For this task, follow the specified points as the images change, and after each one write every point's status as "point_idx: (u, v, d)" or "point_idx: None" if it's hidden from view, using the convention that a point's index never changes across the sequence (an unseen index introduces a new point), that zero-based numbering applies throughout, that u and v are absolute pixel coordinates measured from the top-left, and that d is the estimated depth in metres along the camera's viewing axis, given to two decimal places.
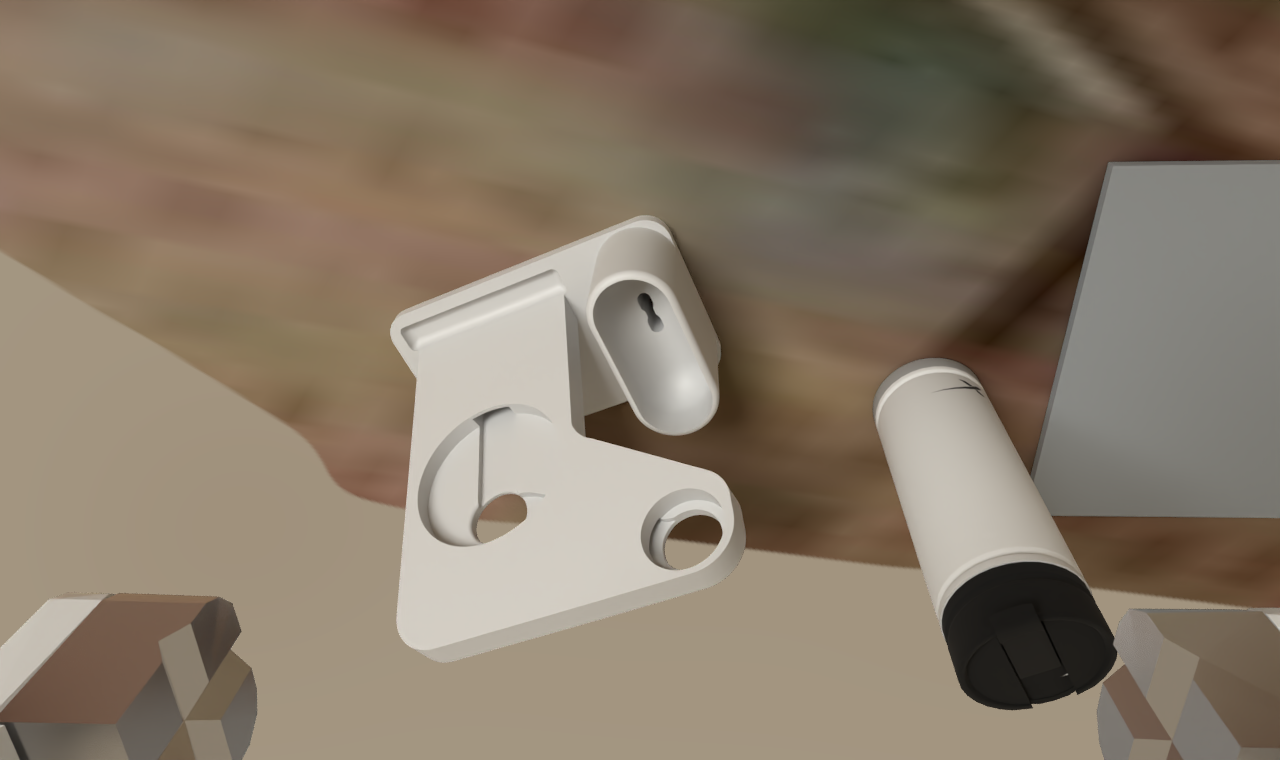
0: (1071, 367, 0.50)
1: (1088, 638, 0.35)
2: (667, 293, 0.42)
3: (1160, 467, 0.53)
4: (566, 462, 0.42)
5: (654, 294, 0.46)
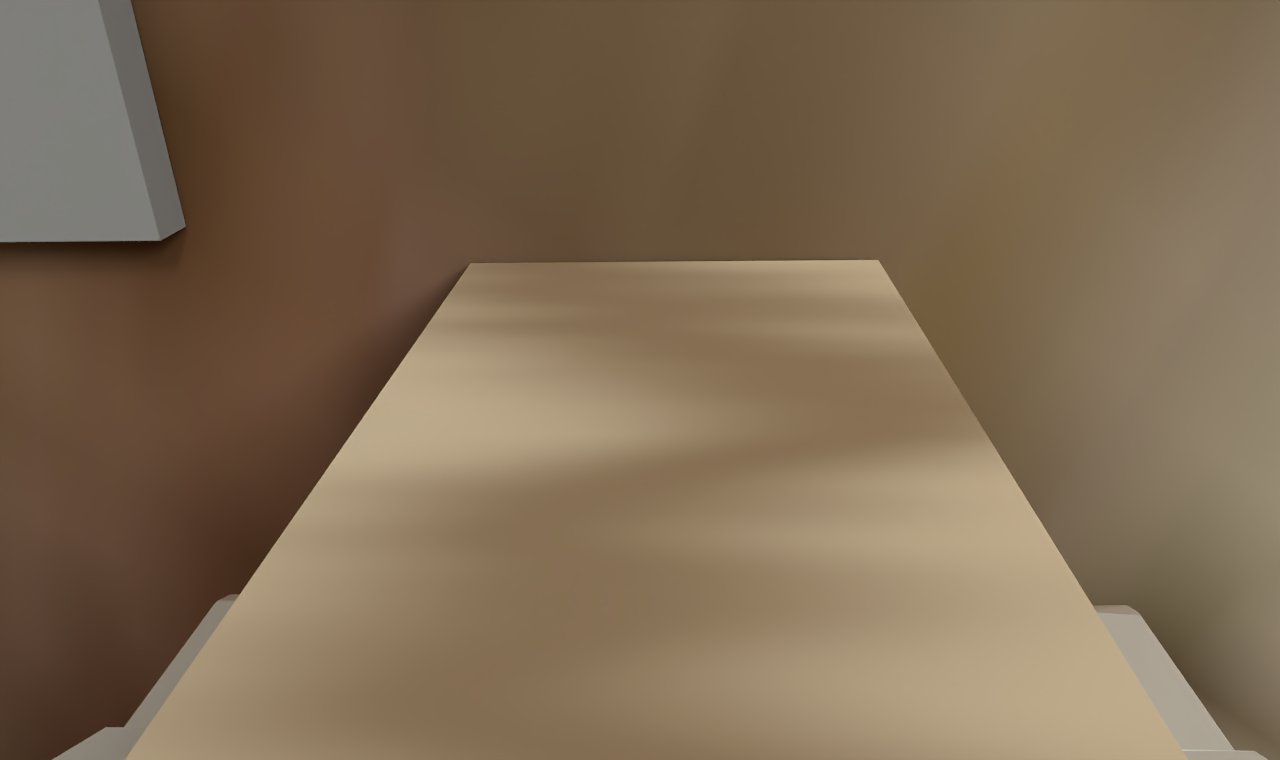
0: None
1: None
2: None
3: None
4: None
5: None
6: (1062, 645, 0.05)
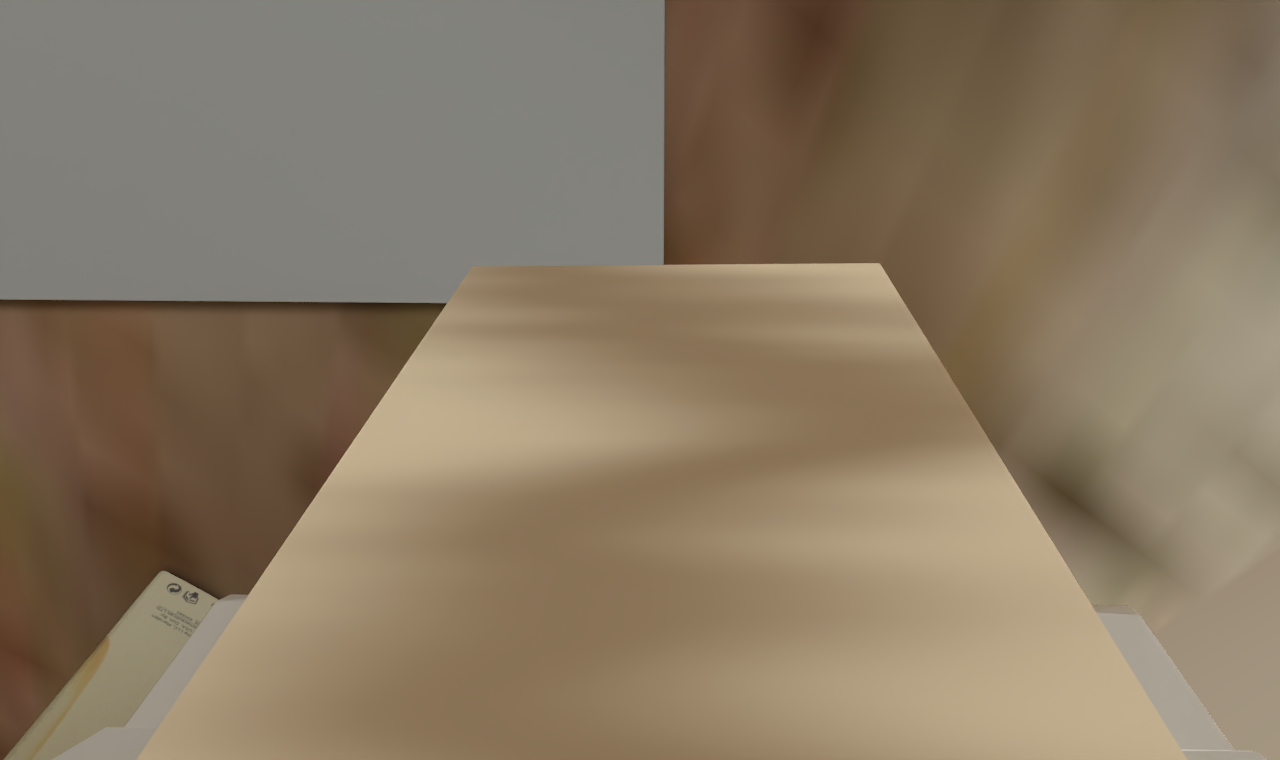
0: None
1: None
2: None
3: None
4: None
5: None
6: (1066, 651, 0.05)
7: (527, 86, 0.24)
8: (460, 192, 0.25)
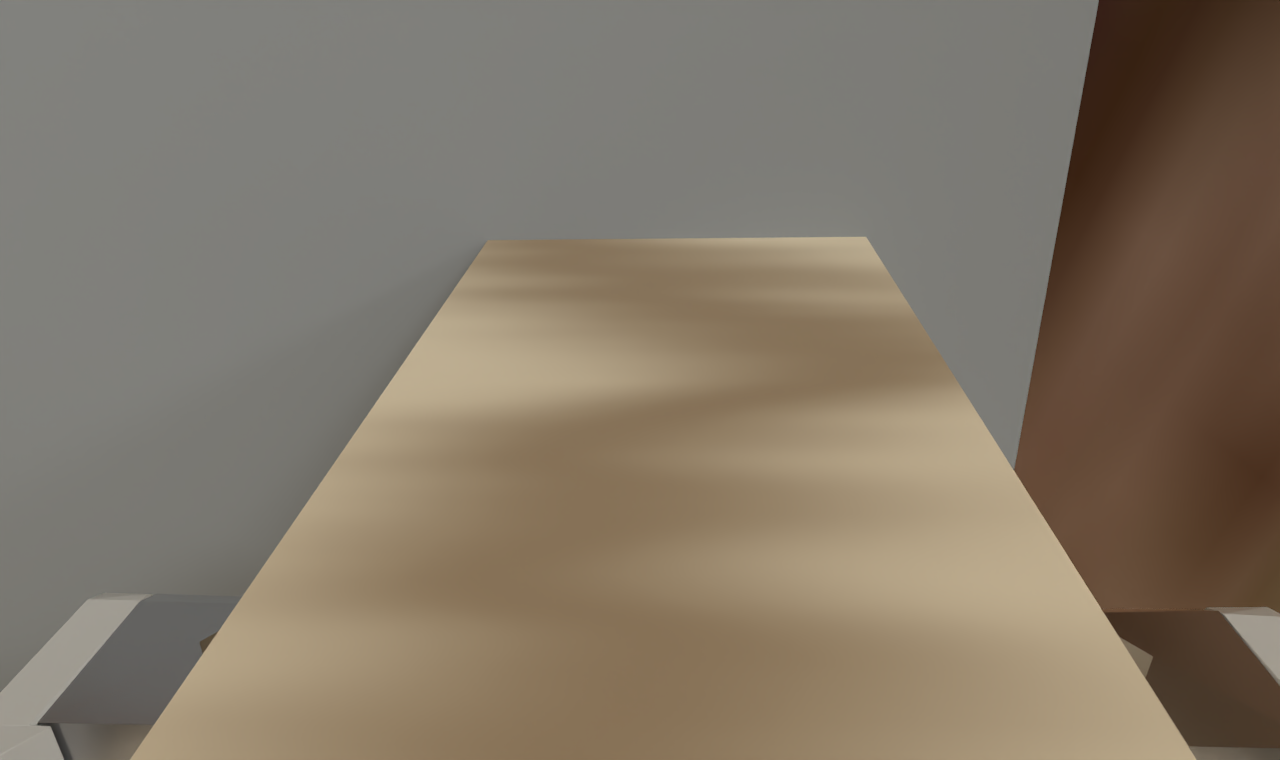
0: None
1: None
2: None
3: None
4: None
5: None
6: (1010, 538, 0.06)
7: None
8: None
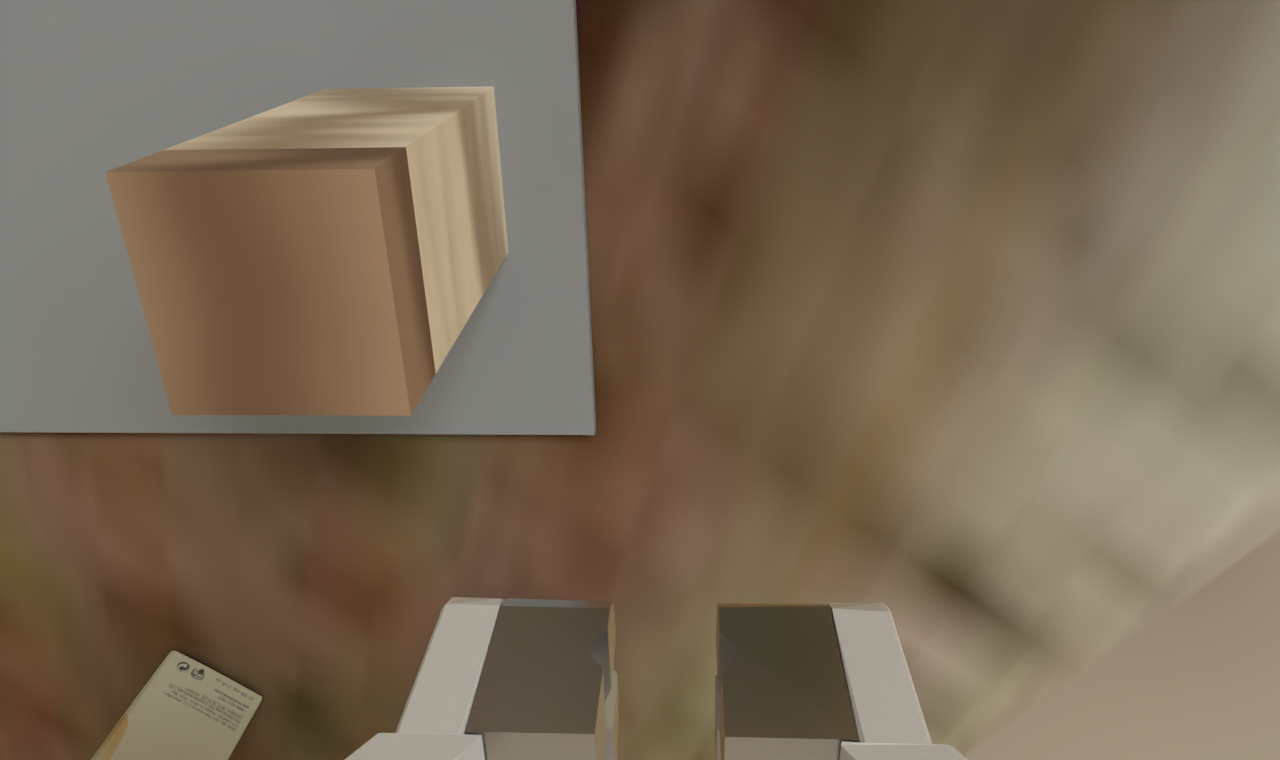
0: None
1: None
2: None
3: None
4: None
5: None
6: (422, 127, 0.20)
7: None
8: None
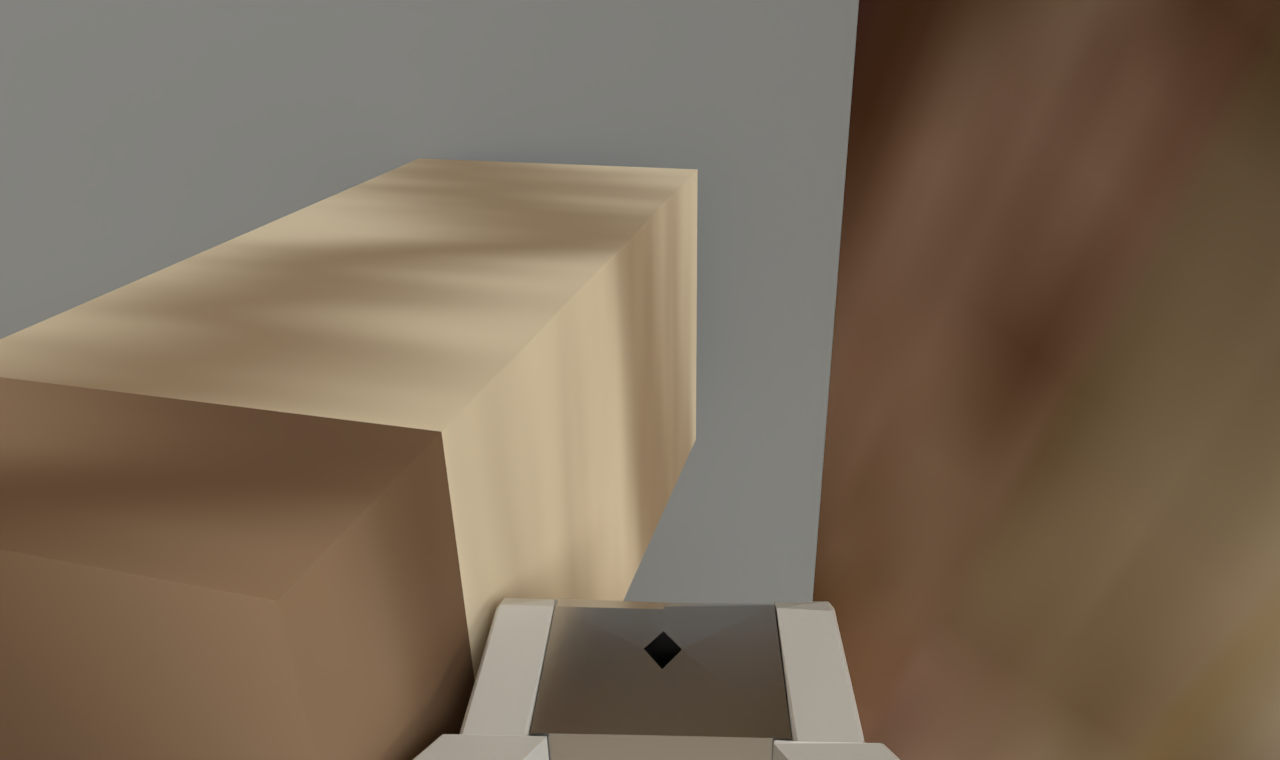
0: None
1: None
2: None
3: None
4: None
5: None
6: (521, 318, 0.09)
7: None
8: None
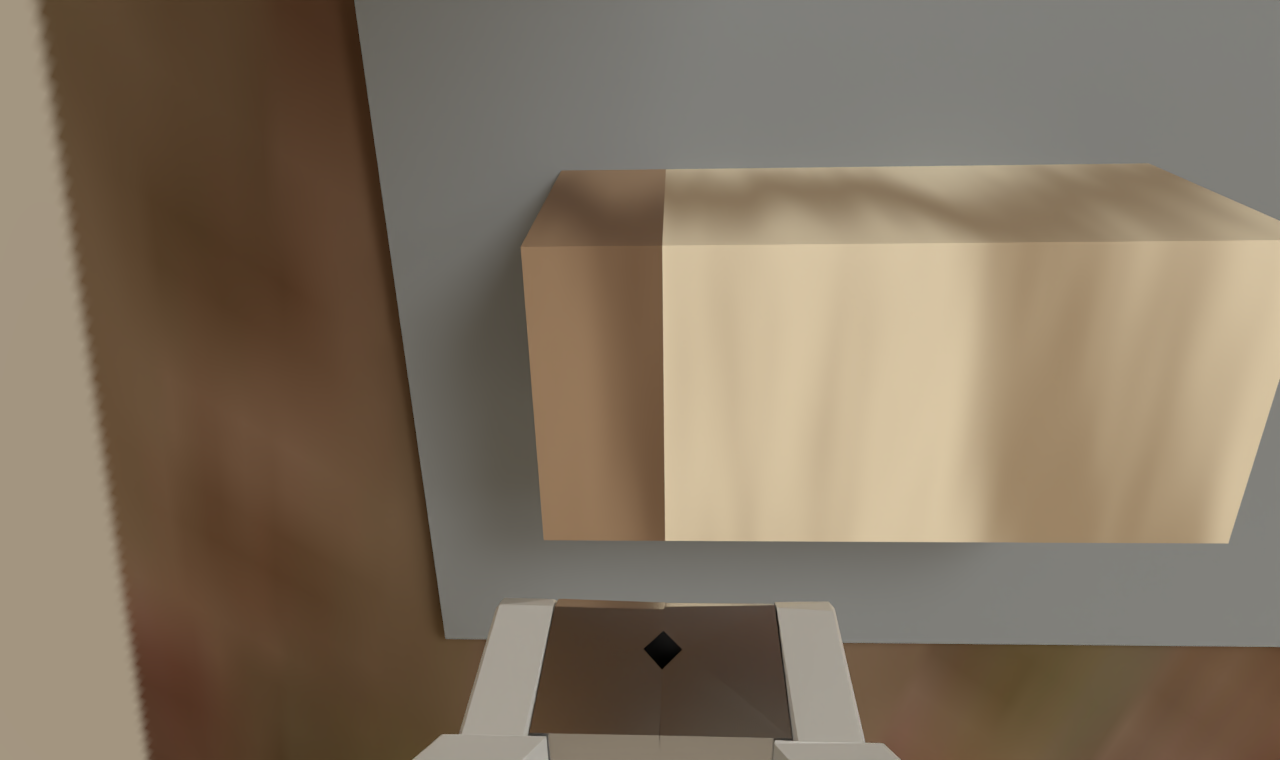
0: None
1: None
2: None
3: None
4: None
5: None
6: (822, 238, 0.13)
7: (1278, 418, 0.19)
8: None
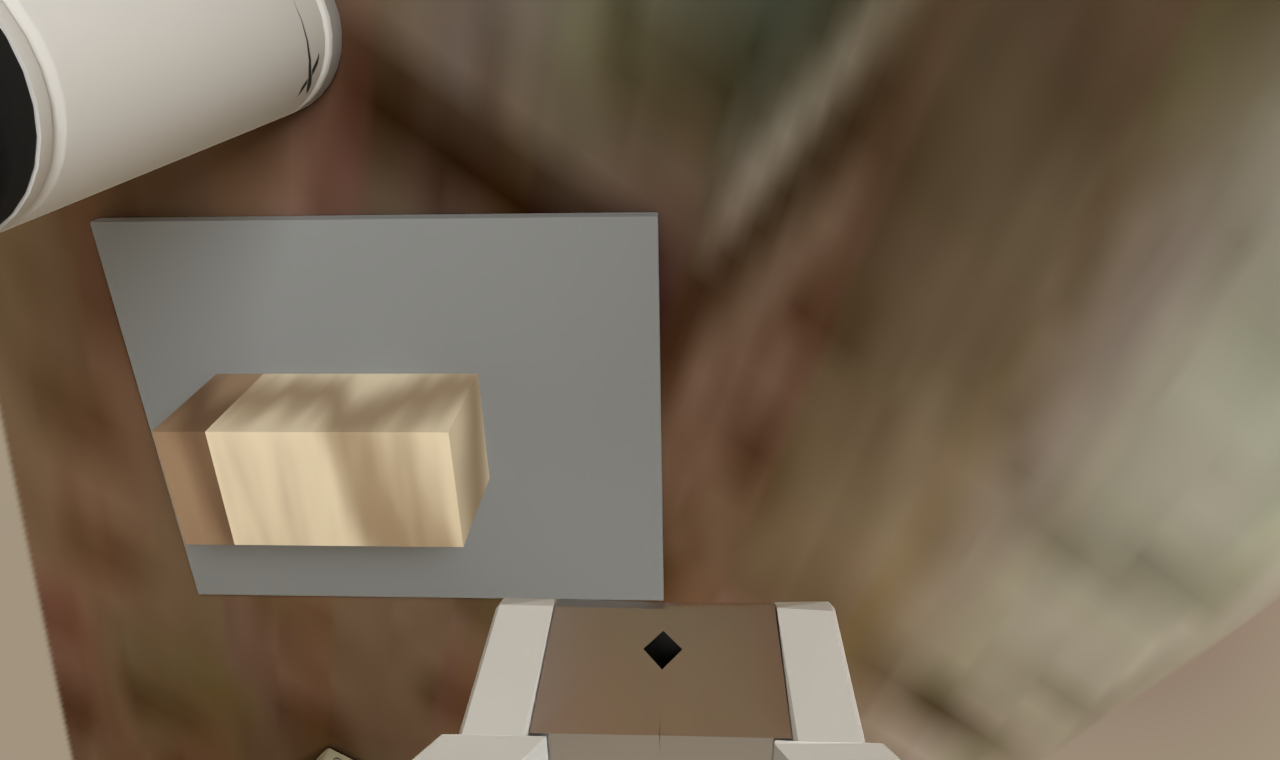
0: (359, 232, 0.34)
1: None
2: None
3: None
4: None
5: None
6: (269, 428, 0.33)
7: (577, 486, 0.39)
8: (535, 540, 0.40)
